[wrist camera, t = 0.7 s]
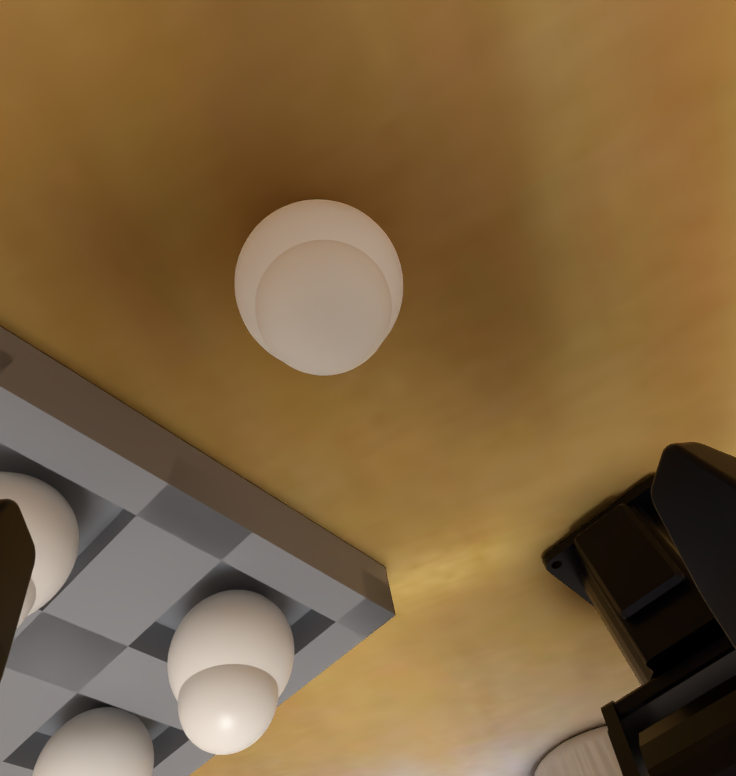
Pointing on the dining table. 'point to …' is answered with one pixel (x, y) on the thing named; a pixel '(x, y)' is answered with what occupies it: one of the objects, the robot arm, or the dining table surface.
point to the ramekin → (582, 757)
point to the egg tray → (155, 589)
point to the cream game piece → (319, 286)
